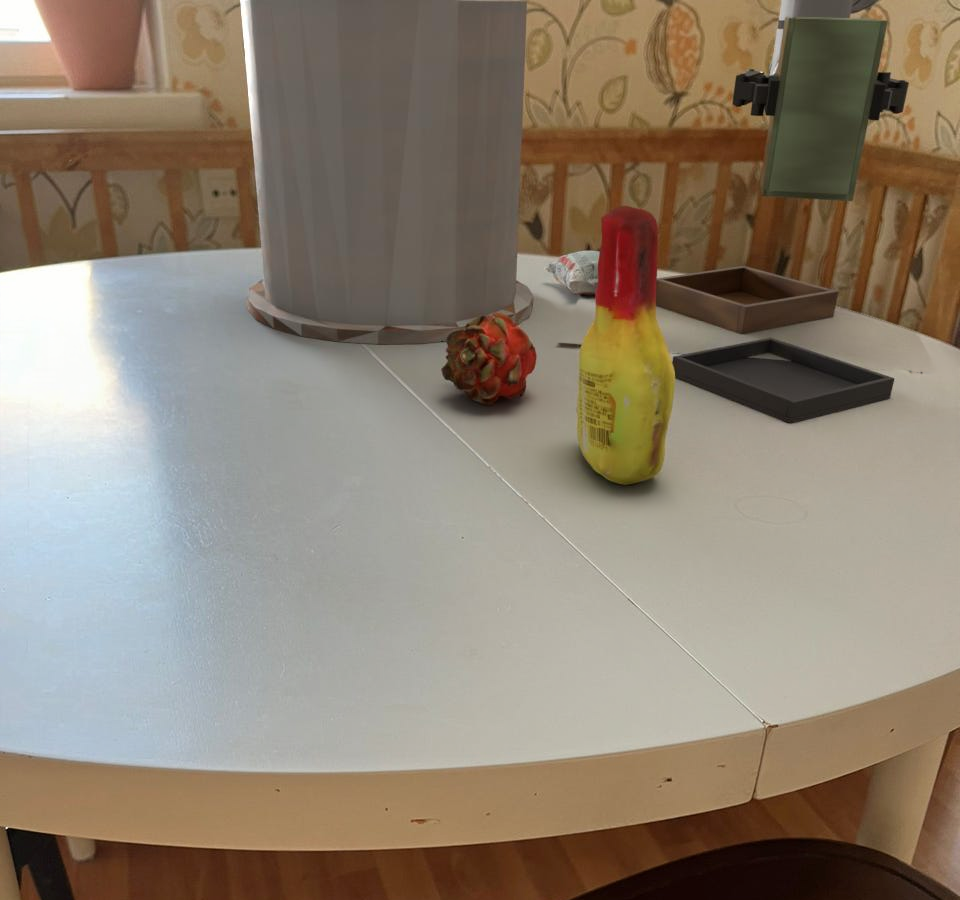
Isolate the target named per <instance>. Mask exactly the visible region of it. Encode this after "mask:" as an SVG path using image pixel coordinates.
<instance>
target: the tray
mask: <svg viewBox="0 0 960 900" xmlns="http://www.w3.org/2000/svg"><path fill="white" fill-rule="evenodd" d="M764 354H771V355H774V356H777V357H779V358H782V359H776V358H775V359H774V358H760V357H754V356H760V355H761V356H762V355H764ZM671 361H672V364H673V367H674V371H675V379H678V380H680V381H684V382H686V383H689V384H691V385H694V386H696V387H698V388H701V389H703V390H706V391H708V392H711V393H713V394H716V395H718V396H721V397H724V398H726V399H728V400H730V401H731V400H732V401H734V402H736V403H739V404H741V405H742V406H743V405H744V406H745V407H749V408H751V409H754V410H756V411H758V412H761V413H763V414H766V415H769V416H770V417H773V418H776V419H779V420H781V421H783V422H786V423H789V424H792V423H797V422H801V421H804V420H808V419H813V418H816V417H817V418H818V417H820V416H824V415H829V414H832V413H837V412H840V411H844V410H848V409H852V408H856V407H860V406H863V405H868V404H871V403H875V402H879V401H882V400H888V399H890V398H891V395H892V391H893V386H894V383H895V378H894V377H892V376H889V375H886V374H883V373H880V372H877V371H874V370H871V369H868V368H865V367H862V366H858V365H856V364H853V363H849V362H846V361H843V360H840V359H837V358H834V357H831V356H828V355H826V354H822V353H819V352H816V351H813V350H810V349H807V348H803V347H801V346H798V345H794V344H792V343H789V342H787V341H786V342H785V341H782V340H780V339H778V338H777V339H776V338H774V337H767V338H762V339H756V340H752V341H746V342H741V343H735V344H730V345H725V346H720V347H715V348H710V349H704V350H700V351H695V352H689V353H684V354H679V355H673V356H672V360H671Z"/></svg>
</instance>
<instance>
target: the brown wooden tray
mask: <svg viewBox="0 0 960 900" xmlns="http://www.w3.org/2000/svg"><path fill="white" fill-rule="evenodd" d="M838 296H839V290H835V289H831V288H828V287H824V286H820V285H817V284H816V285H815V284H813V283H809V282H805V281H801V280H798V279H794V278H790V277H788V276H787V277H786V276H782V275H779V274H776V273H771V272H768V271H765V270H761V269H757V268H754V267H749V266H746V265H740V266H734V267H733V266H732V267H725V268H719V269H712V270H706V271H704V270H703V271H698V272H692V273H691V272H690V273H684V274H678V275H677V274H676V275H670V276H663V277H657V282H656V307H659V308H661V309H665V310H668V311H670V312H673V313H676V314H680V315H683V316H685V317H687V318H691V319H694V320H696V321H697V320H698V321H700V322H703V323H706V324H709V325H713V326H715V327H718V328H721V329H724V330H727V331H729V332H733V333H736V334H739V335H746V334H751V333H756V332H757V333H758V332H763V331H766V330H773V329H777V328H778V329H779V328H782V327H783V328H784V327H789V326H795V325H799V324H806V323H809V322H815V321H822V320H825V319H831V318H834V316H835V312H836V306H837V300H838Z"/></svg>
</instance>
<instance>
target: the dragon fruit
mask: <svg viewBox="0 0 960 900" xmlns="http://www.w3.org/2000/svg"><path fill="white" fill-rule="evenodd" d="M445 342H446V344H447V348H445V352H446V356H445V359H446V360H447V362H445V365H443V366H442V367H441V369H440V371H441V374H442V378H443V379H444V380H445V381H450V382H452V383H453V385H454V387H455V388H456V389H457V390H459V391H461V392H464V393H465V394H467V395H468V396H469V397H470V399H471V400H472V401H474V402H476V403H480V404H482V405H484V406H491V405H492V404H494V403H496V401H498V399H499V397H505V398H506V399H508V400H511V399H514V398H516V399H518V400H519V399H521V398H522V397H523V396H524V395H525V393H526V388H527V377H528V376H529V375H530V374H532V373H533V371H534V370H535V369H536V366H537V365H536V364H537V350H536V347H535V346H534V344H533V343H532V342H531V340H530V337H529V336H528V334H527V333H526V331H524V330H523V329H521V327H520V326H519V325H518V324H517V325H516V324H515V323H514V322H513V321H512V319H511V318H510V317H508V316H506V315H504V314H502V313H494V314H492V315H491V316H490V317H489V318H487V317H485V316H481V317H479V318H476V319H474V320H473V321H471V322H469V323H467V325H466V326H465V330H458V331H454V332H451V333H450V334H449V335H448V336H447V338H446V341H445Z"/></svg>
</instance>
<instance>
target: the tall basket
mask: <svg viewBox="0 0 960 900" xmlns="http://www.w3.org/2000/svg"><path fill="white" fill-rule="evenodd" d="M888 23H889V22H888V20H887V19H881V18H855V17H852V18H851V17H850V18H823V17H787V16H786V17H785V22H784V29H783V35H782V42H781V48H780V55H779V62H778V68H777V75H776V76H777V77H778V79H779V80H780V84H779V90H778V97H777V103H776V110H775V116H769V122H768V129H767V137H766V143H765V149H764V156H763V162H762V169H761V174H760V175H761V176H760V181H759V184H760V185H759V186H760V192H761V197H768V198H770V197H771V198H785V199H803V200H804V199H806V200H823V201H838V202H839V201H842V202H853V201H854V197H855V191H856V188H857V187H856V186H857V182H858V177H859V172H860V171H859V170H860V166H861V162H862V161H861V160H862V156H863V151H864V145H865V140H866V134H867V129H868V124H869V121H870V120H869V114H870V109H871V104H872V99H873V94H874V89H875V84H876V79H877V75H878V72H879V69H880V64H881V58H882V53H883V49H884V43H885V38H886V33H887V28H888Z"/></svg>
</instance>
